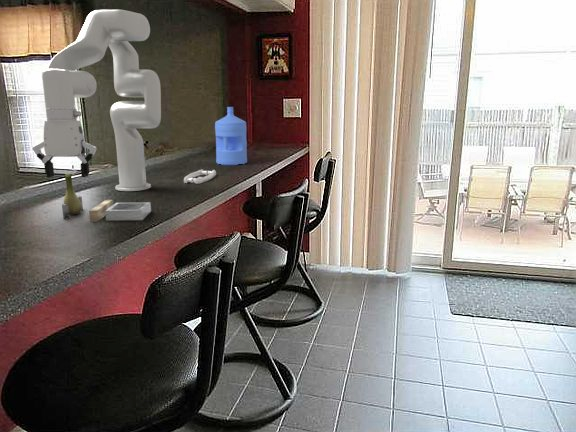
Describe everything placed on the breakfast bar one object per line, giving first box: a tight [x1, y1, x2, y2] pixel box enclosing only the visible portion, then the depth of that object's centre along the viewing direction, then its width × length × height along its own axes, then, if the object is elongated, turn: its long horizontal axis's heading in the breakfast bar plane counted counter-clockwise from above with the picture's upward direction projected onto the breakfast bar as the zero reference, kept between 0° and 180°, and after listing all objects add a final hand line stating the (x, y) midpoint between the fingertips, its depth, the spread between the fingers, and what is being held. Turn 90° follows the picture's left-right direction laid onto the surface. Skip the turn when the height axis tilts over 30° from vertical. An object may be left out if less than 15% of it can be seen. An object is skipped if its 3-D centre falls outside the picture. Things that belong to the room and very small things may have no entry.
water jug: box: [214, 106, 248, 166], centre depth 233 cm, size 16×16×28 cm
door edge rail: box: [88, 199, 114, 223], centre depth 135 cm, size 14×2×3 cm, turn 3°
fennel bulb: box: [63, 172, 83, 216], centre depth 135 cm, size 6×5×12 cm
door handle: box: [183, 169, 217, 185], centre depth 194 cm, size 3×10×25 cm
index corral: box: [105, 201, 152, 222], centre depth 134 cm, size 10×10×3 cm
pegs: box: [61, 195, 84, 220], centre depth 136 cm, size 12×2×4 cm, turn 3°
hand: (67, 176), depth 133 cm, fingers open, 9 cm apart
